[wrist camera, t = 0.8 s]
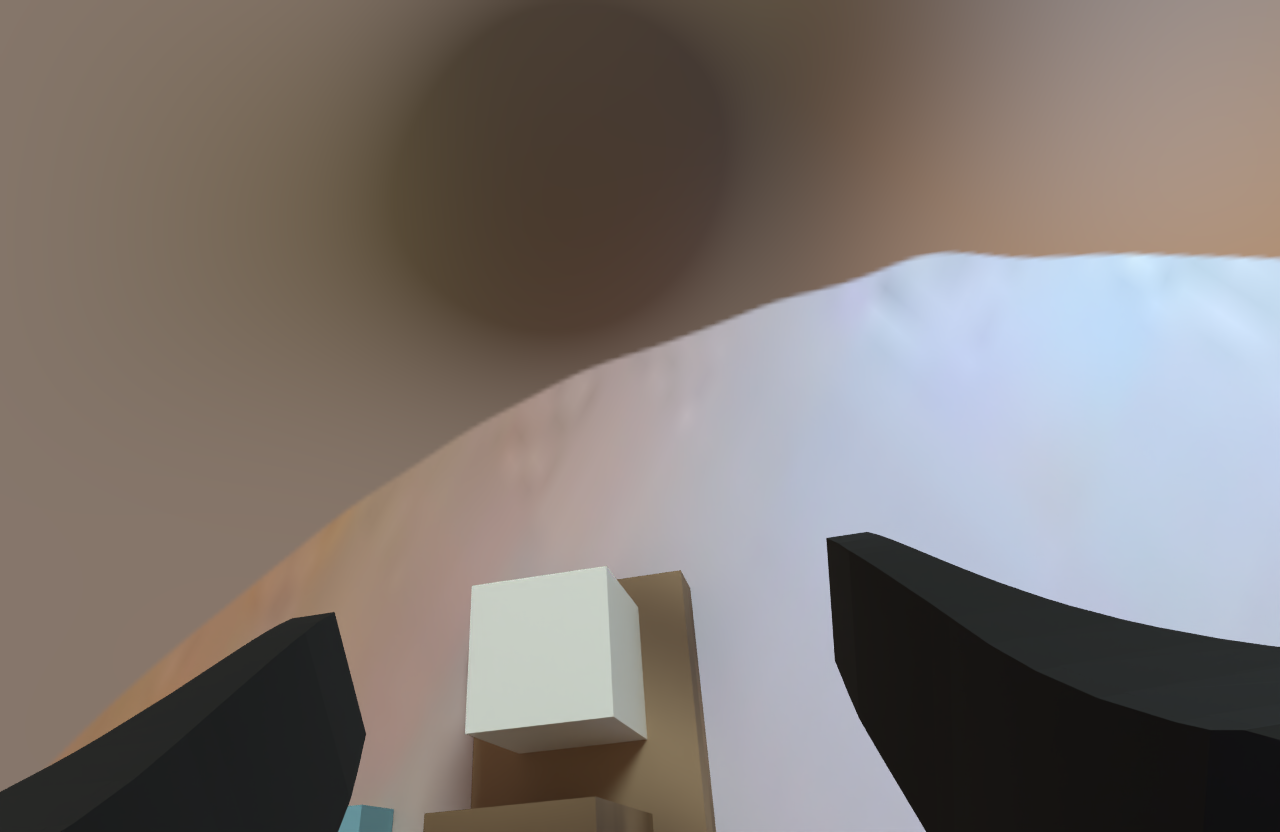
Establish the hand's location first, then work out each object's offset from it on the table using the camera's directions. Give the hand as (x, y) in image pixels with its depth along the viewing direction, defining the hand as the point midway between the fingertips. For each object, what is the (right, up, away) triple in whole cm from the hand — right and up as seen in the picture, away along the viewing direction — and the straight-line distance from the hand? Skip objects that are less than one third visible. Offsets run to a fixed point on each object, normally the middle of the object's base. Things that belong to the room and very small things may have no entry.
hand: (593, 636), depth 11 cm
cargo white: (-1, -5, +13) cm, 14 cm away
